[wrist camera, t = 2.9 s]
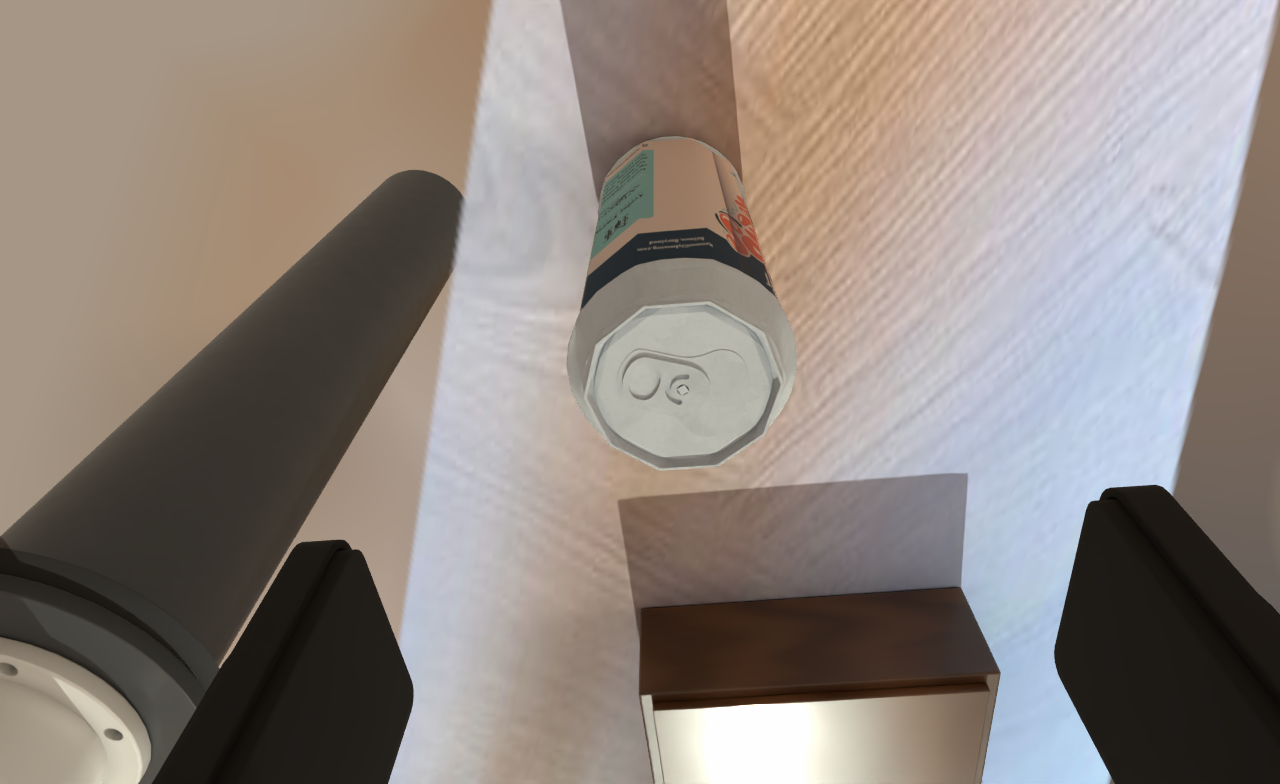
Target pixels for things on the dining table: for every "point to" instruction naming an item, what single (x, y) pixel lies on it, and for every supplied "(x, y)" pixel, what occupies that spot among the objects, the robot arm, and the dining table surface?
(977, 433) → the dining table surface
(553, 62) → the dining table surface
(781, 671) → the walnut block
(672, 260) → the beer can
